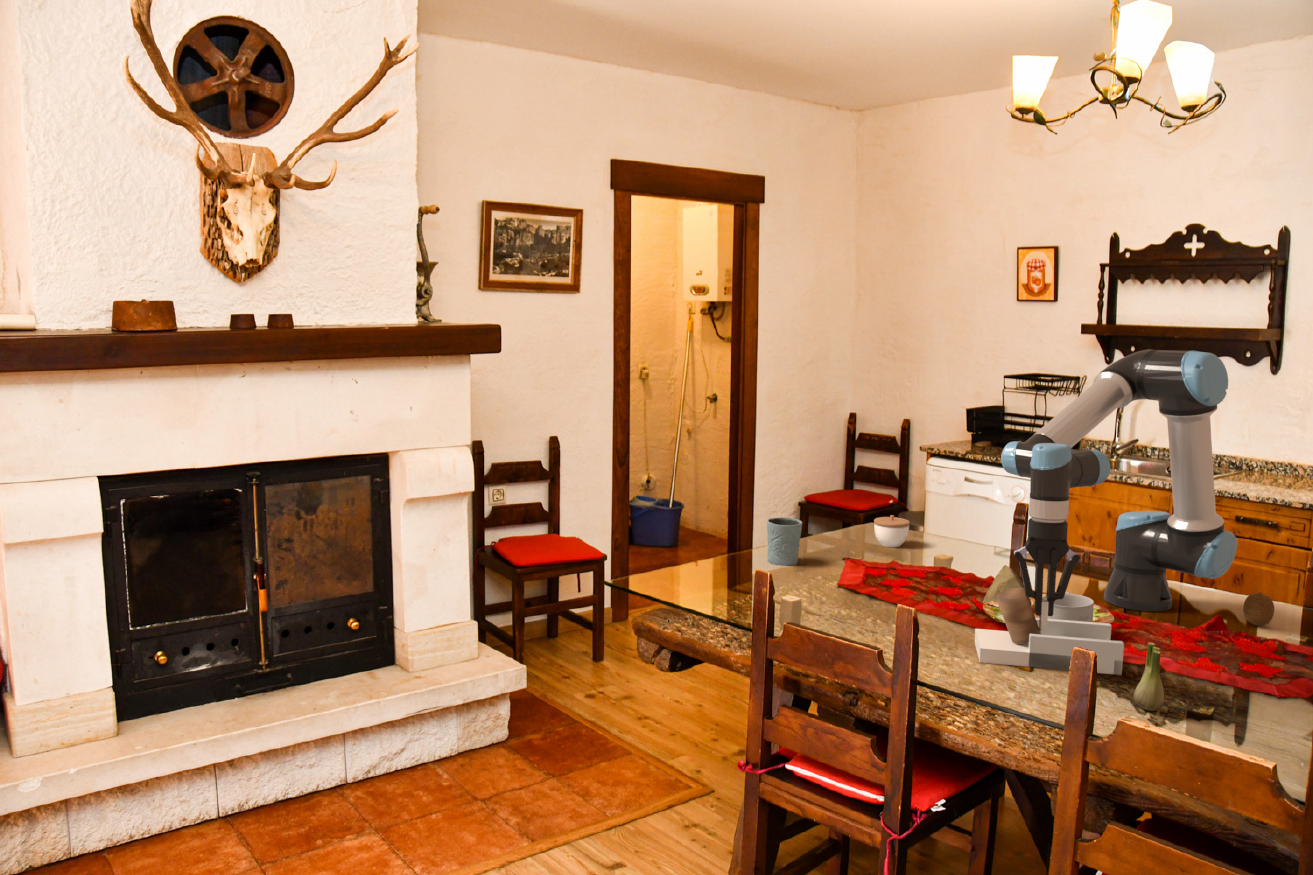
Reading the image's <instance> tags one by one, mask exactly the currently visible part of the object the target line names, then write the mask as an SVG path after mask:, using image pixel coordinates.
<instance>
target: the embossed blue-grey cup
mask: <svg viewBox="0 0 1313 875" xmlns="http://www.w3.org/2000/svg"><path fill="white" fill-rule="evenodd" d="M802 527H803V521H802V520H800V519H797V518H793V517H782V516H781V517H780V516H779V517H777V516H776V517H770V518H768V519H767V520H766V531H767V534H766V536H767V544H766V545H767V562H768V563H769V564H772V565H775V566H785V567H786V566H794V565H796V564H797V563H798V561H799V551H800V541H801V535H802Z"/></svg>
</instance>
